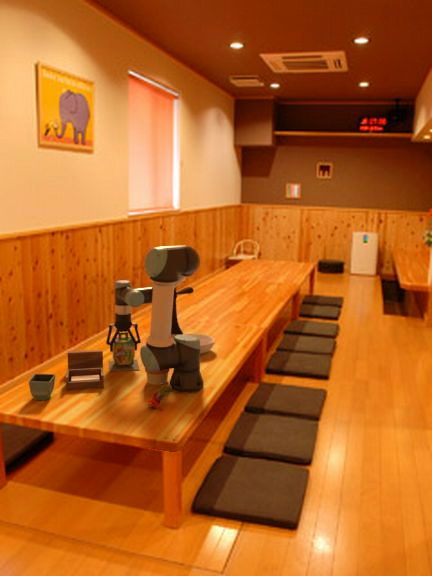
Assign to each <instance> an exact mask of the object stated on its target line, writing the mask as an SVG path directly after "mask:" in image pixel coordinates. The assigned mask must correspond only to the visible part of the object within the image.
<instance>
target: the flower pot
mask: <svg viewBox="0 0 432 576" xmlns="http://www.w3.org/2000/svg"><path fill="white" fill-rule="evenodd" d="M55 383H56V374H54V373H52V374H51V373H34V374H33V376H32V377H31V378H30V379H29V381H28V385H29V391H30V395H31V397H33V399H34V400H35V401H47V400H49V398H50V397H51V395H52V393H53V391H54V389H55Z"/></svg>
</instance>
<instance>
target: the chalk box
mask: <svg viewBox="0 0 432 576" xmlns="http://www.w3.org/2000/svg"><path fill="white" fill-rule="evenodd" d="M123 335H124V336H123ZM113 344H114V359H113V361H114V363H115V366H117V365H133V364H134V360H135V358H134V341H133V340H132V338H131V337H130V336H129V333H128V331H127V332H119V334H118V335H117V337H116V339H115V341H114V343H113Z"/></svg>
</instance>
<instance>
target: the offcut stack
mask: <svg viewBox="0 0 432 576" xmlns="http://www.w3.org/2000/svg"><path fill="white" fill-rule="evenodd" d="M94 380H100V378H99V375H85V376H72V377H71V379H70V382H77V381H94Z"/></svg>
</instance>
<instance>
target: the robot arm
mask: <svg viewBox="0 0 432 576" xmlns="http://www.w3.org/2000/svg"><path fill="white" fill-rule="evenodd" d="M200 264H201V258H200V255H199V253H198V251H197V250H196V249H195V248H194V247H192V246H190V245H185V244H183V245H182V244H181V245H167V246H166V245H165V246H163V245H162V246H157V247H152V248H150V249H149V250H148V252H146V255H145V259H144V269H145V273H146V275H147V276H148V277H149V280H150V281H151V282H152V286H148V287H147V286H146V287H139V288H132V285H131V281H130V280H126V279H124V280H123V279H121V280H117V281H115V282H114V309H115V310H114V312H115V314H114V316H115V317H114V319H115V321H114V323H109V324H108V328H109V329H108V332H107V336H106V341H105V342H106V343H105V344H106V345H107V346H109V351H110V352H111V353H112V359H113V360H114V341H115V339H116V337H118V334H119V333H124V332H128V336H129V337H131V338H132V340H133V341H134V359H135V358H136V351H138V344H141V343H142V342H141V337H140V334H139V330H138V322H132V307H133V308H139V307H141V306H142V305H147V304H151V315H150V316H151V319H150V331H149V332H150V333H149V336H148V337H147V338H146V340H145V345H143V346H141V347H140V350H139V357H140V359H141V363H142V365H143V367H144V369H145V368H146V370H147V371H149V372H159V371H162V370H167V369H171V370H172V374H171V377H170V380H169V385H171V388H172V389H171V391H174V392H175V393H180V394H181V393H182V394H193V393H197V392H200V391H201V390H202V389H203V390H204V379H203V377H202V372H201V354H200V349H201V348H200V341H199V339H198V338H196V337H193V336H189V335H184V334H180V335H176V334H175V336H173V338H172V337H171V336H172V334H171V325H172V311H173V296H174V288H175V287H176V286H177V287H178V286H179V285H180V284H181V283H182V282H183V281H184V280H185V279H187V278H188V277H189V278H190V277H192V276H193V275H194V274H196V272H197V271H198V270H199V268H200ZM177 287H176V288H177ZM114 327H115V332H114V334H113V336H112V331H113V329H114ZM131 328H134V331H135V334H136V338H137V339H136V338H135V336H134V334H133V332H132V330H131ZM111 336H112V338H111Z"/></svg>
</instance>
